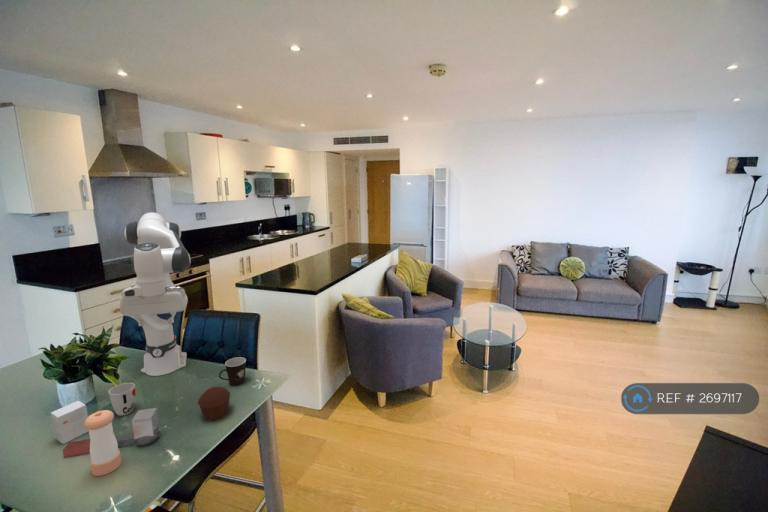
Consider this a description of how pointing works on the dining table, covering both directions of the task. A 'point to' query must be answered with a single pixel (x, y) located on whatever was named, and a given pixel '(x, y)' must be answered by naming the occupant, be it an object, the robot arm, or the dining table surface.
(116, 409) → the cup
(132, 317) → the robot arm
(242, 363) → the coffee mug
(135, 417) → the light grey cube
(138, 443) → the ratchet
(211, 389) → the muffin
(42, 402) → the dining table surface
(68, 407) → the small box
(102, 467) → the pepper shaker
